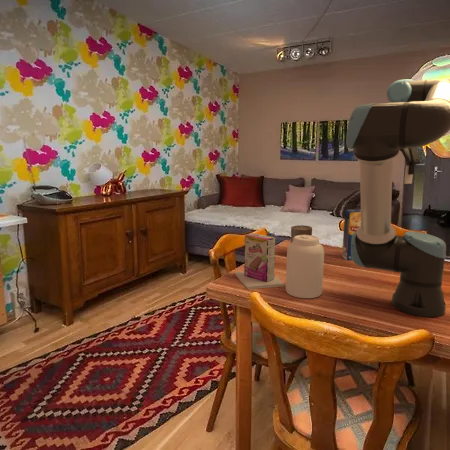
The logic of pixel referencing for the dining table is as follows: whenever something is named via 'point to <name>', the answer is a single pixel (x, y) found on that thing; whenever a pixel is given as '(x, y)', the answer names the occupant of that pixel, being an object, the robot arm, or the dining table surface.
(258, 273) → the candy bar box
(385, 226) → the robot arm
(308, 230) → the pillar candle
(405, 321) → the dining table surface
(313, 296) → the cream jar
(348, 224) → the beverage box
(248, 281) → the grey mat
